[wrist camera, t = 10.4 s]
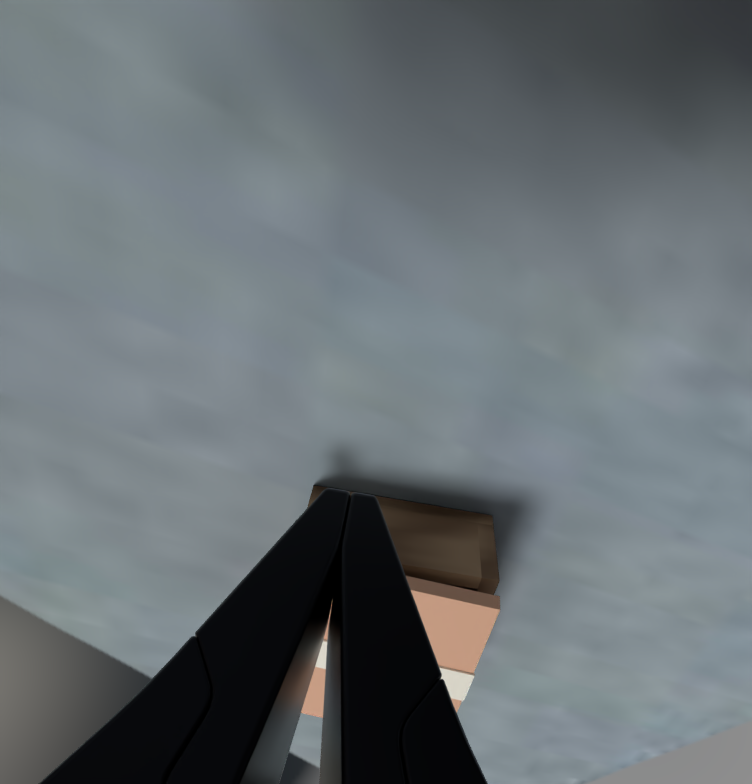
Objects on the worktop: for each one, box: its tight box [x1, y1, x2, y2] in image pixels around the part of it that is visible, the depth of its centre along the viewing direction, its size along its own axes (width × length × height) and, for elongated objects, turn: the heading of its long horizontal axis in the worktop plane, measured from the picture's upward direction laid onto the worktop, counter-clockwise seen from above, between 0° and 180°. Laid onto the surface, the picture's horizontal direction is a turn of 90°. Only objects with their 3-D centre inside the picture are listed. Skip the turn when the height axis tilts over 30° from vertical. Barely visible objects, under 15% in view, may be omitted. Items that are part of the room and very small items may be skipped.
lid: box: [301, 576, 500, 718], centre depth 24 cm, size 8×11×1 cm
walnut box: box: [307, 485, 499, 595], centre depth 26 cm, size 8×13×4 cm
